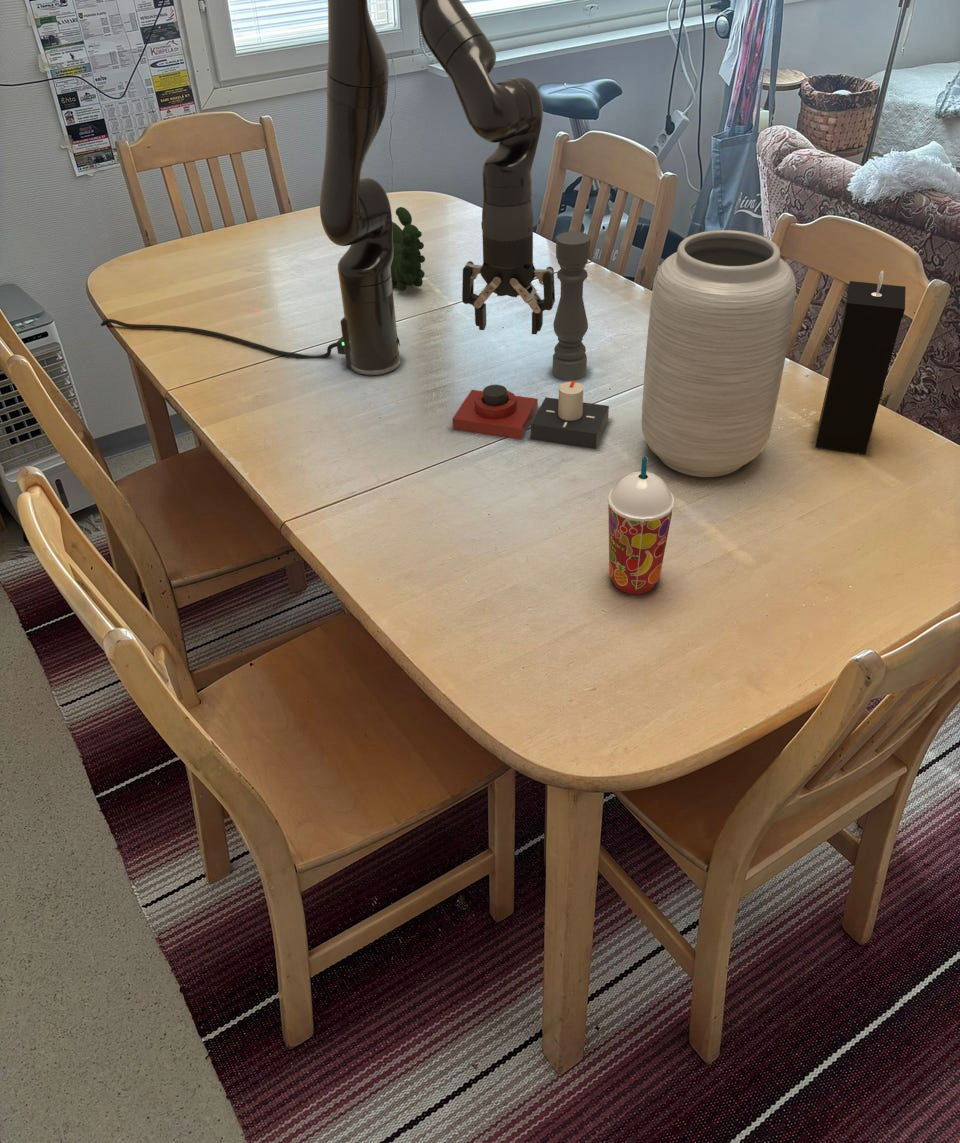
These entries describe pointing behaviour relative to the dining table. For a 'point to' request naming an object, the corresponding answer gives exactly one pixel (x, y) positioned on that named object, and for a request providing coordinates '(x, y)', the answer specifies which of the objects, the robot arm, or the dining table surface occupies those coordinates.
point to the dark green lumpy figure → (406, 252)
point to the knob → (570, 401)
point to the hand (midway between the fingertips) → (508, 330)
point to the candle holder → (571, 306)
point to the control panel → (569, 425)
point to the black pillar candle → (860, 365)
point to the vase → (716, 351)
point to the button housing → (496, 415)
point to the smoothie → (638, 530)
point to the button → (495, 395)
